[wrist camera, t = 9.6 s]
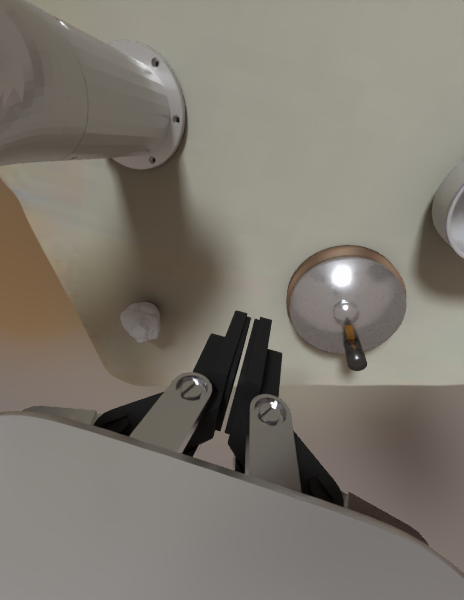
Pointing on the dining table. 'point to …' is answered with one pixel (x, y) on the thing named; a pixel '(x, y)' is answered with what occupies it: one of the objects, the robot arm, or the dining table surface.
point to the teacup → (451, 209)
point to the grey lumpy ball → (141, 321)
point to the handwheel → (347, 306)
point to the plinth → (338, 252)
